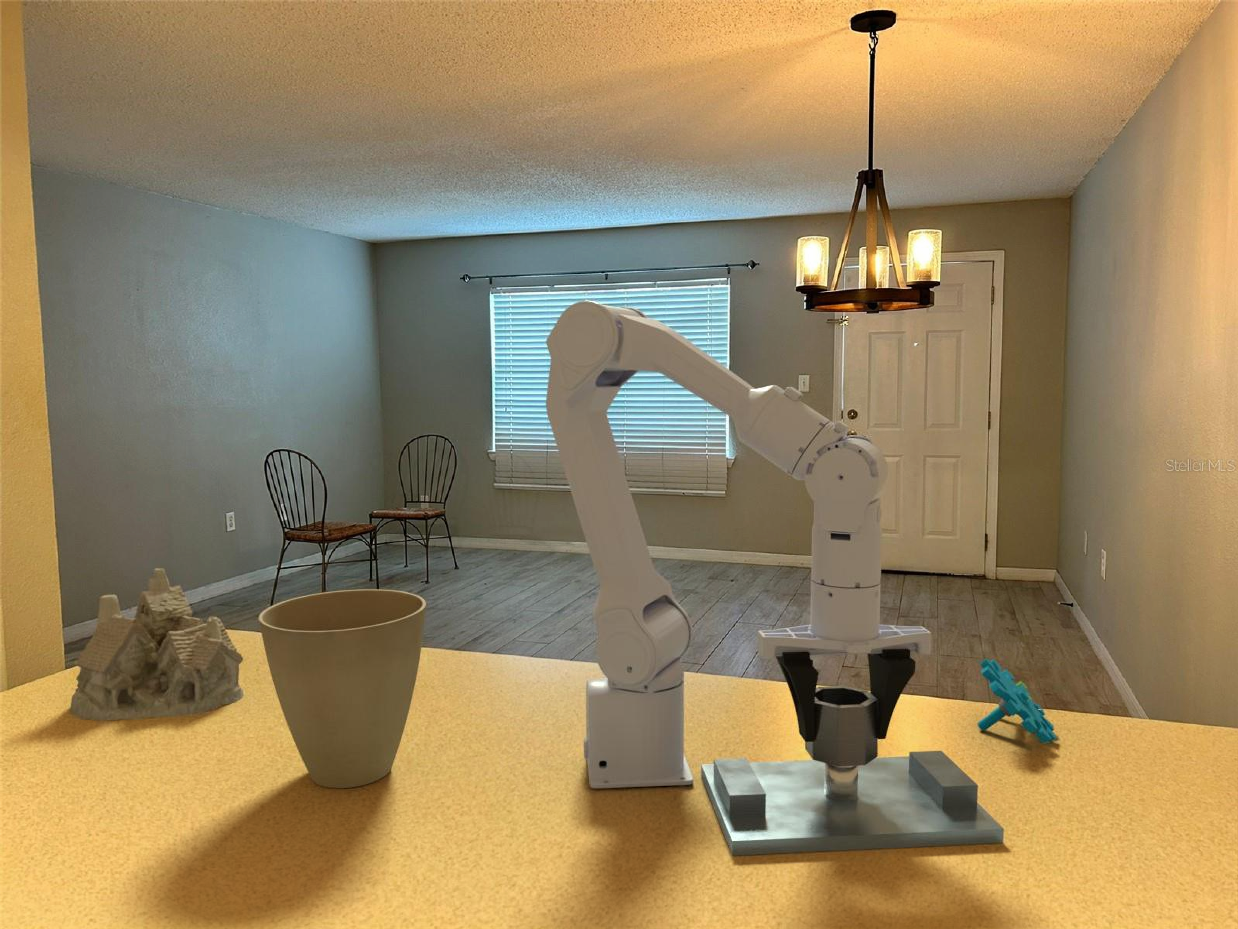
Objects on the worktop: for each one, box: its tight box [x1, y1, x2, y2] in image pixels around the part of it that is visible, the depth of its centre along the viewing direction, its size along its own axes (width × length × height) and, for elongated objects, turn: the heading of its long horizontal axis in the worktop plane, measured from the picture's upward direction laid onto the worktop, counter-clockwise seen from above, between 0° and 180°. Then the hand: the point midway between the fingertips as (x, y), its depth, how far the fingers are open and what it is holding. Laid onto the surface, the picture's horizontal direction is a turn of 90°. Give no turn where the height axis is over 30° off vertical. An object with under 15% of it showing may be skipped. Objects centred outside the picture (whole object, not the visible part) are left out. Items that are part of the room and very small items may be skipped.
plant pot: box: [258, 588, 427, 789], centre depth 85 cm, size 15×15×16 cm
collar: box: [804, 685, 879, 767], centre depth 78 cm, size 6×6×5 cm
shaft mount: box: [700, 750, 1005, 856], centre depth 78 cm, size 22×14×6 cm, turn 95°
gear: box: [976, 658, 1058, 745], centre depth 95 cm, size 11×6×10 cm
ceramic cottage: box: [69, 567, 244, 722], centre depth 104 cm, size 16×16×15 cm
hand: (842, 736), depth 78 cm, fingers closed on collar, 6 cm apart
